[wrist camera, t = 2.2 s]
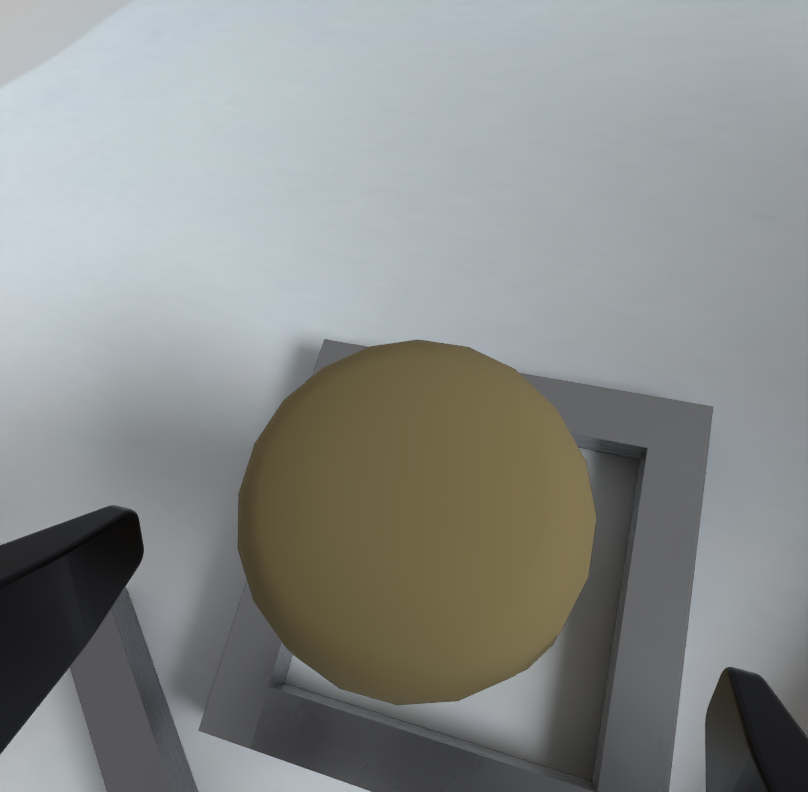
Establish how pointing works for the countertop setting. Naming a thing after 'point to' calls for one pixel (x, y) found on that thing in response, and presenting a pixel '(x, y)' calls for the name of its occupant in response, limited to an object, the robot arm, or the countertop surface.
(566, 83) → the countertop surface
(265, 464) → the cork
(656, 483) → the socket collar
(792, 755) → the robot arm
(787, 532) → the countertop surface
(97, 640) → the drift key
